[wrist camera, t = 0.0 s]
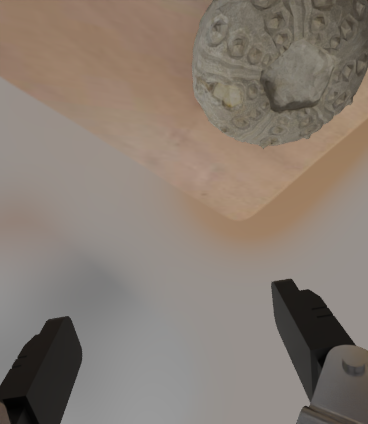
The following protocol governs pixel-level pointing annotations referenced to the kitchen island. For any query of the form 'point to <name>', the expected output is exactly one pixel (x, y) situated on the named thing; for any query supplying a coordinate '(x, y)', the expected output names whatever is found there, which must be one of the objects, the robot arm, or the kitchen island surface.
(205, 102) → the decorative shell
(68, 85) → the kitchen island surface
